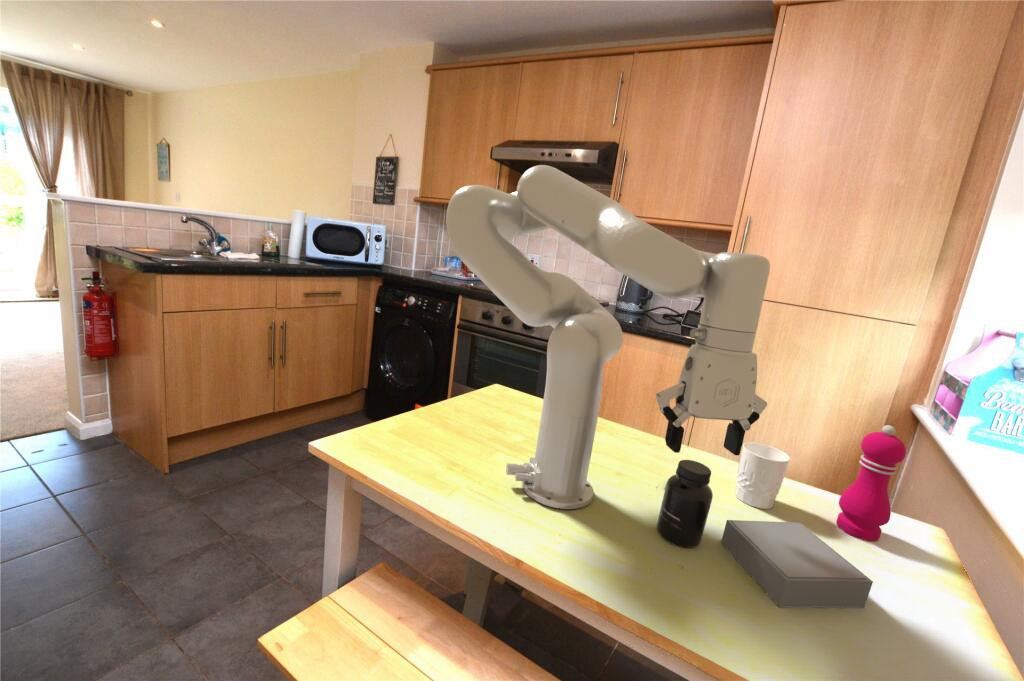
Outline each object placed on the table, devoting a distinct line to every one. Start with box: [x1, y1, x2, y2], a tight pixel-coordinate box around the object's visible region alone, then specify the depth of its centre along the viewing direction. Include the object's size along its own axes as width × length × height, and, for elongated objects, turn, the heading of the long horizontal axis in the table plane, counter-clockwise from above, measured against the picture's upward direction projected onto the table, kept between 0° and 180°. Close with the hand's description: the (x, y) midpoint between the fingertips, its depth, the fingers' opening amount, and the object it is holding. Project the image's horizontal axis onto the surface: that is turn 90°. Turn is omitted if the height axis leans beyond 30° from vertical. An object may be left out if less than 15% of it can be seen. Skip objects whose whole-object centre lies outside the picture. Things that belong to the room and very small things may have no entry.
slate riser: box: [720, 519, 874, 608], centre depth 67 cm, size 13×13×4 cm
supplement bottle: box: [656, 459, 714, 549], centre depth 71 cm, size 7×7×12 cm
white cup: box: [734, 441, 791, 510], centre depth 87 cm, size 8×8×10 cm
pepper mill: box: [836, 424, 907, 542], centre depth 79 cm, size 7×7×20 cm
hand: (702, 450), depth 69 cm, fingers open, 9 cm apart
